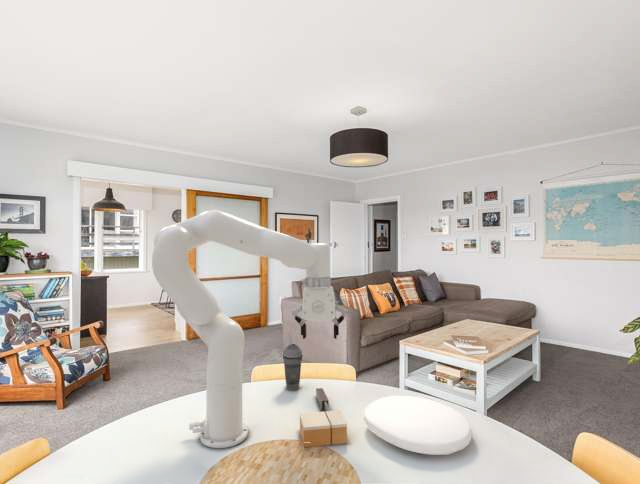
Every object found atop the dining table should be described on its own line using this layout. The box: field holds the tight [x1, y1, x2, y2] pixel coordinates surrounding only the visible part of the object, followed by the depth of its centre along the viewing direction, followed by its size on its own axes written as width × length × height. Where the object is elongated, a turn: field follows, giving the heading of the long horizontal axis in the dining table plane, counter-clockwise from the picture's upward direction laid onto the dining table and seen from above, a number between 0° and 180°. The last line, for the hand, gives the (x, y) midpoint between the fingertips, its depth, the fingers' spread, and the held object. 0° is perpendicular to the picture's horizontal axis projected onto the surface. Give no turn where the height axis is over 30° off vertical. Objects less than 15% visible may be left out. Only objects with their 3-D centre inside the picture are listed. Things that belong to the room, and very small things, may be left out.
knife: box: [315, 387, 331, 413], centre depth 116 cm, size 2×19×3 cm, turn 9°
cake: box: [299, 411, 332, 448], centre depth 99 cm, size 7×8×5 cm
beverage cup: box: [282, 331, 304, 391], centre depth 133 cm, size 7×7×20 cm
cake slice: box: [325, 410, 348, 445], centre depth 100 cm, size 4×8×5 cm, turn 9°
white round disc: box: [363, 395, 473, 456], centre depth 101 cm, size 28×6×27 cm
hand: (319, 337), depth 115 cm, fingers open, 9 cm apart
